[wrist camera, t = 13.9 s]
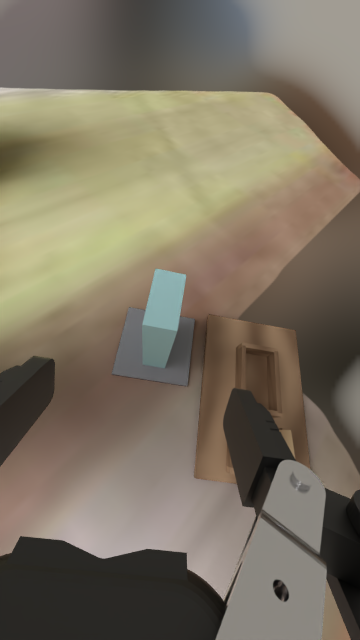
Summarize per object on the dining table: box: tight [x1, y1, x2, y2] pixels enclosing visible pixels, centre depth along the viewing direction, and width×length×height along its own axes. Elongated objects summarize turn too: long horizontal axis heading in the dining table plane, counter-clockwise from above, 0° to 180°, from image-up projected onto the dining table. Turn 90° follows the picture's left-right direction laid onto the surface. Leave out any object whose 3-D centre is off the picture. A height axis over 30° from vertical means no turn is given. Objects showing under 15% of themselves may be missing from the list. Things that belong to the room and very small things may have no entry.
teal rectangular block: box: [142, 269, 186, 368], centre depth 27 cm, size 3×6×13 cm, turn 172°
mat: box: [112, 307, 195, 386], centre depth 33 cm, size 10×10×1 cm
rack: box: [194, 315, 310, 484], centre depth 31 cm, size 14×21×3 cm, turn 172°
